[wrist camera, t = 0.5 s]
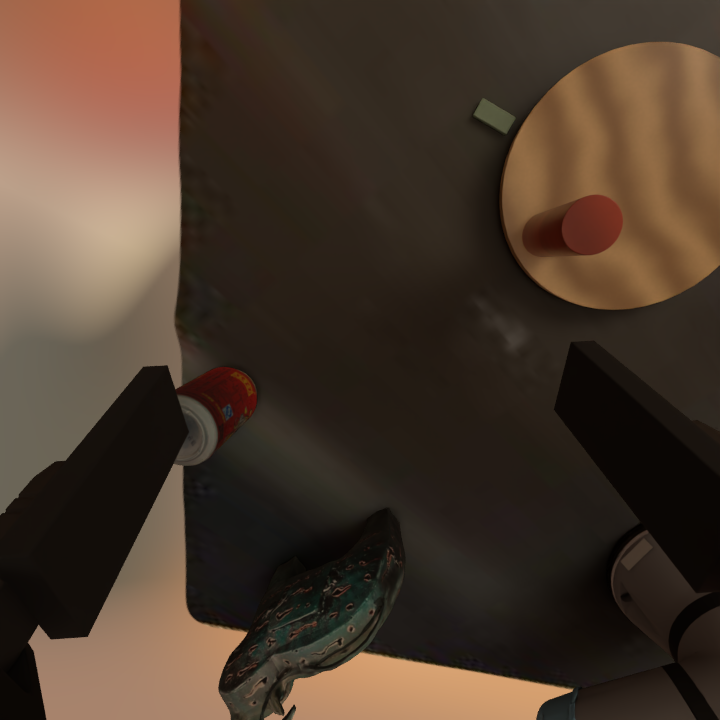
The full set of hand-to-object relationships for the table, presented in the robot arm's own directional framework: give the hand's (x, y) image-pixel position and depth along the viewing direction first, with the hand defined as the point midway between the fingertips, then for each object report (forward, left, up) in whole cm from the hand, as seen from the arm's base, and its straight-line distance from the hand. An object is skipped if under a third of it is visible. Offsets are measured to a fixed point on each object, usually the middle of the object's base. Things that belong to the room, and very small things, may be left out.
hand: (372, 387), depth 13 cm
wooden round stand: (-13, -19, -29) cm, 37 cm away
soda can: (+11, +19, -31) cm, 38 cm away
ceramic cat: (-9, +31, -31) cm, 44 cm away
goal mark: (+1, -19, -30) cm, 36 cm away
